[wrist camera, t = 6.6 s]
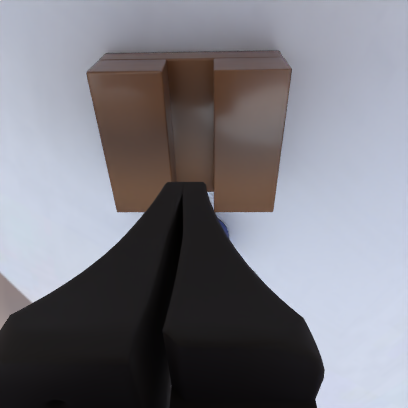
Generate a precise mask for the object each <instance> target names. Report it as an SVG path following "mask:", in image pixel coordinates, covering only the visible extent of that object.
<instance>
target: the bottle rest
mask: <svg viewBox="0 0 408 408" xmlns="http://www.w3.org/2000/svg"><path fill="white" fill-rule="evenodd" d="M291 72H292V69H291V67H290V66H289V64H288V63H287V61H286V60H285V58H284V57H283V56H282V54H281V53H280V51H228V52H166V53H106V54H104V55H103V56H102V57H101V58H100V59H99V61H97V62H96V63H95V64H94V65H93V66H92V67H91V68H90V69H89V70H88V71H87V73H86V74H87V79H88V83H89V88H90V92H91V97H92V101H93V106H94V110H95V115H96V119H97V124H98V128H99V133H100V137H101V142H102V146H103V151H104V155H105V160H106V164H107V169H108V173H109V178H110V182H111V187H112V191H113V196H114V200H115V205H116V209H117V212H146V210H147V209H148V208H149V207H150V205H151V204H152V203H153V201H154V200H155V198H156V197H157V196H158V194H159V193H160V191H161V190H162V188H163V187H164V185H165V184H166V183H167V182H204V183H205V184H206V188H207V192H214V212H273V209H274V201H275V194H276V186H277V179H278V171H279V163H280V156H281V148H282V141H283V133H284V125H285V118H286V110H287V103H288V95H289V87H290V80H291Z"/></svg>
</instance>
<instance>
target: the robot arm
mask: <svg viewBox="0 0 408 408" xmlns="http://www.w3.org/2000/svg"><path fill="white" fill-rule="evenodd" d="M323 378H324V366H323V362H322V359H321V356H320V353H319V350H318V348H317V345H316V343H315V340H314V338H313V336H312V334H311V332H310V330H309V328H308V326H307V324H306V322H305V320H304V318H303V317H301V316H300V315H299V314H298V313H297V312H295V311H294V310H293V309H292V308H290V307H289V306H288V305H287V304H286V303H285V302H284V301H282V300H281V299H280V298H279V297H278V296H277V295H276V294H275V293H274V292H273V291H272V290H271V289H270V288H269V287H268V286H267V285H266V284H265V283H264V282H263V281H262V280H261V279H260V278H259V277H258V276H257V274H256V273H255V272H254V271H253V270H252V269H251V268H250V267H249V266H248V264H247V263H246V262H245V261H244V259H243V258H242V257H241V255H240V254H239V253H238V251H237V250H236V249H235V247H234V246H233V244H232V243H231V241H230V240H229V238H228V236H227V235H226V233H225V231H224V230H223V228H222V226H221V224H220V222H219V220H218V218H217V216H216V214H215V212H214V210H213V208H212V205H211V202H210V200H209V197H208V193H207V188H206V184H205V183H204V182H167V183H166V184H165V185H164V187H163V188H162V190H161V191H160V193H159V194H158V196H157V197H156V198H155V200H154V201H153V203H152V204H151V205H150V207H149V208H148V209H147V210H146V212H145V213H144V214H143V215H142V217H141V218H140V219H139V220H138V221H137V223H136V224H135V225H134V226H133V227H132V228H131V229H130V230H129V231H128V233H127V234H126V235H125V236H124V237H123V238H122V239H121V240H120V241H119V242H118V243H117V244H116V245H115V246H114V247H112V248H111V249H110V250H109V251H108V252H107V253H106V254H105V255H104V256H102V257H101V258H100V259H99V260H97V261H96V262H95V263H93V264H92V265H91V266H90V267H88V268H87V269H86V270H84V271H83V272H82V273H80V274H79V275H77V276H76V277H75V278H73V279H72V280H70V281H69V282H67V283H66V284H64V285H62V286H61V287H59V288H58V289H56V290H55V291H53V292H51V293H50V294H48V295H46V296H45V297H43V298H41V299H39V300H37V301H35V302H34V303H32V304H30V305H28V306H27V307H25V308H23V309H21V310H19V311H17V312H15V313H14V314H11V315H10V316H9V318H8V319H7V321H6V322H5V324H4V325H3V327H2V328H1V330H0V408H317V405H316V401H315V399H316V396H317V394H318V391H319V389H320V386H321V383H322V381H323ZM171 385H172V386H171Z"/></svg>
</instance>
